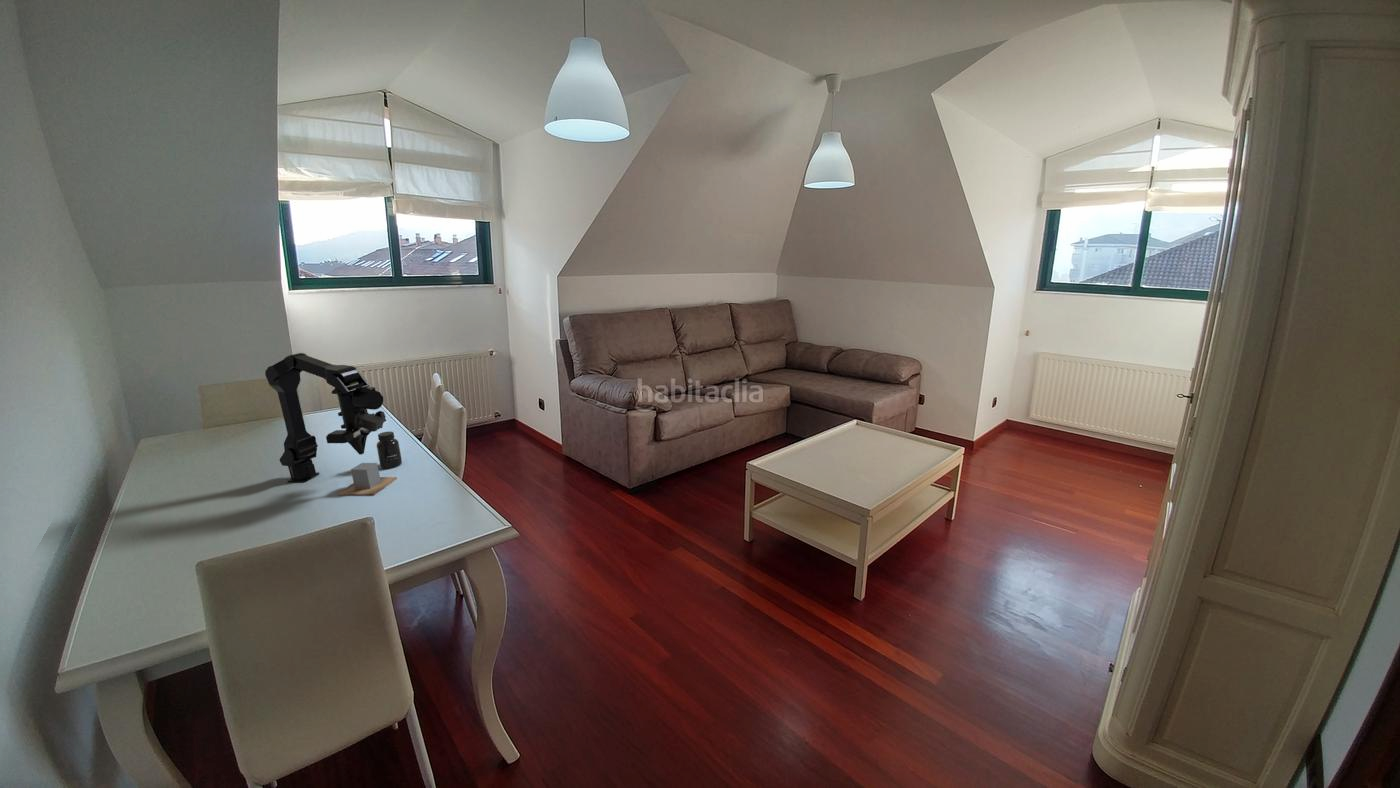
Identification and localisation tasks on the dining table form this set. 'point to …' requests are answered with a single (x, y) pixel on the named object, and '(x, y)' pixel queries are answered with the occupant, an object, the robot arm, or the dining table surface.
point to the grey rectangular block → (365, 475)
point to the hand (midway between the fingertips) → (361, 454)
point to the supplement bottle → (388, 450)
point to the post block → (374, 490)
